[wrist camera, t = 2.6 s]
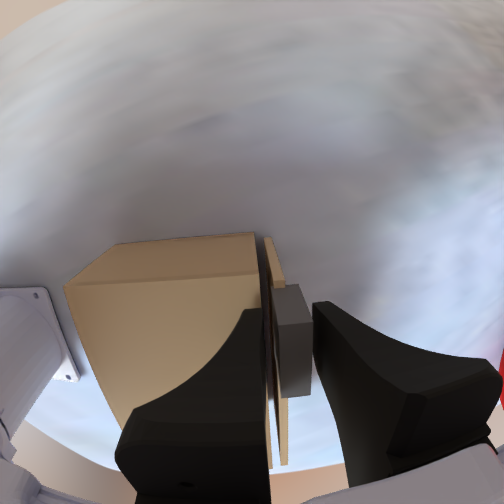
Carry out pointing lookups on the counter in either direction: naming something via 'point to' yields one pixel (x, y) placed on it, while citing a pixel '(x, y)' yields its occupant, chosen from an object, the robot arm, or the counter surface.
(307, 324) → the carton flap
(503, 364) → the tomato
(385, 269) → the counter surface
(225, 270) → the carton
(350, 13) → the counter surface
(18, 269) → the counter surface
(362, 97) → the counter surface
